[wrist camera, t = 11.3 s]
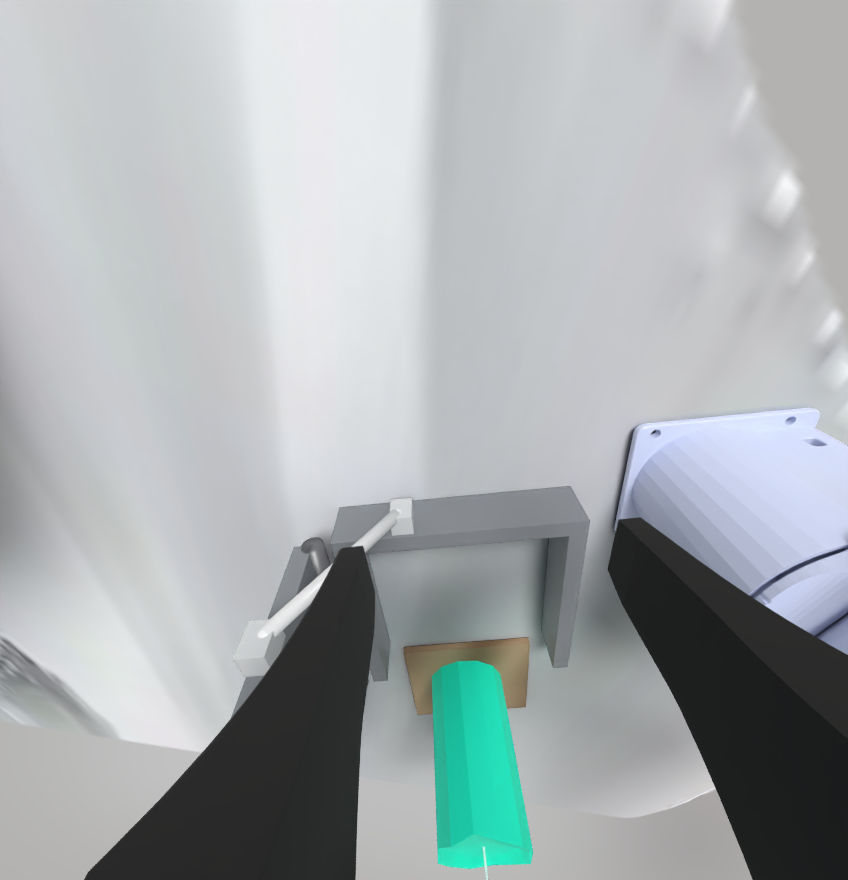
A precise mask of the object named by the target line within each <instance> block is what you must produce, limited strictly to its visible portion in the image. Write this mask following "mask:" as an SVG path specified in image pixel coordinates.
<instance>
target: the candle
mask: <svg viewBox="0 0 848 880" xmlns="http://www.w3.org/2000/svg"><path fill="white" fill-rule="evenodd" d="M432 700H433V730H434V759H435V789H436V819H437V846H438V847H437V849H438V864H442V865H445V866H449V867H457V868H468V869H471V868H478V867H484V866H485V875H486V880H488V872H487V866H490V865H513V864H514V865H515V864H531V859H532V855H533V850H532V844H531V838H530V833H529V827H528V822H527V817H526V811H525V805H524V800H523V795H522V789H521V784H520V778H519V773H518V767H517V762H516V756H515V751H514V745H513V740H512V735H511V729H510V724H509V718H508V713H507V707H506V702H505V696H504V691H503V685H502V680H501V675H500V673H499V672H498V671H497V670H496V669H495V668H494V667H493V666H492V665H489V664H486V663H482V662H479V661H457V662H454V663H451V664H448V665H445V666H443V667H441V668H440V669H439V670H438V671H437V672H436V673H435V674H434V675H433V676H432Z"/></svg>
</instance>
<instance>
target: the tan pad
mask: <svg viewBox="0 0 848 880" xmlns="http://www.w3.org/2000/svg"><path fill="white" fill-rule="evenodd" d="M529 647H530V643H529V639H528V638H516V639H503V640H490V641H477V642H464V643H452V644H439V645H426V646H413V647H404V656H405V661H406V665H407V669H408V674H409V678H410V683H411V687H412V691H413V696H414V700H415V705H416V709H417V713H418V715H422V714H433V700H432V676H433V675H434V674H435V673H436V672H437V671H438V670H439V669H440V668H441V667H443V666H445V665H448V664H451V663H454V662H457V661H479V662H482V663H486V664H489V665H492V666H493V667H494V668H495V669H496V670H497V671H498V672H499V673H500V675H501V680H502V685H503V691H504V696H505V702H506V707H507V708H520V707H526V695H527V679H528V663H529Z"/></svg>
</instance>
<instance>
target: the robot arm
mask: <svg viewBox="0 0 848 880" xmlns="http://www.w3.org/2000/svg"><path fill="white" fill-rule="evenodd" d="M819 417H820V413H819V411H817V410H815V409H813V408H799V409H789V410H778V411H768V412H758V413H748V414H738V415H727V416H717V417H707V418H697V419H687V420H677V421H666V422H656V423H646V424H641V425H639V426H638V427H637V428H636V429H635V430H634V433H633V438H632V442H631V447H630V452H629V457H628V462H627V467H626V472H625V477H624V482H623V487H622V492H621V497H620V502H619V507H618V512H617V517H616V522H615V527H614V530H615V532H616V533H615V538H614V542H613V547H612V552H611V557H610V561H609V566H608V571H609V574H610V576H611V579H612V581H613V584H614V586H615V589H616V591H617V593H618V596H619V598H620V600H621V602H622V605H623V607H624V608H625V610H626V612H627V614H628V616H629V618H630V619H631V621H632V623H633V625H634V626H635V628H636V630H637V632H638V634H639V635H640V637H641V639H642V641H643V642H644V644H645V646H646V648H647V649H648V651H649V653H650V655H651V656H652V658H653V660H654V662H655V664H656V665H657V667H658V669H659V671H660V672H661V674H662V676H663V678H664V679H665V681H666V683H667V685H668V686H669V688H670V690H671V692H672V694H673V696H674V698H675V700H676V702H677V704H678V705H679V707H680V710H681V712H682V714H683V716H684V718H685V720H686V723H687V725H688V727H689V729H690V731H691V733H692V736H693V738H694V740H695V742H696V744H697V746H698V749H699V751H700V753H701V755H702V758H703V760H704V762H705V765H706V767H707V769H708V772H709V774H710V776H711V778H712V781H713V783H714V785H715V788H716V790H717V792H718V794H719V797H720V799H721V802H722V804H723V806H724V809H725V811H726V814H727V816H728V819H729V821H730V823H731V826H732V829H733V831H734V833H735V836H736V838H737V841H738V843H739V846H740V848H741V851H742V853H743V855H744V858H745V861H746V863H747V866H748V868H749V871H750V874H751V876H752V879H753V880H848V445H846V444H844V443H842V442H840V441H838V440H837V439H835V438H833V437H831V436H829V435H827V434H825V433H823V432H822V431H820V430H818V429H816V428H815V426H816V424H817V422H818V419H819ZM787 419H788V420H787ZM654 430H656V432H655V433H654V434H651V433H652V432H653V431H654ZM374 628H375V589H374V585H373V581H372V578H371V574H370V570H369V566H368V562H367V558H366V555H365V551H364V547H363V546H355V547H345V548H341V549H340V551H339V552H338V554H337V556H336V558H335V560H334V562H333V564H332V566H331V568H330V570H329V572H328V574H327V576H326V578H325V580H324V581H323V583H322V585H321V587H320V589H319V591H318V592H317V594H316V596H315V598H314V599H313V601H312V603H311V604H310V606H309V608H308V610H307V611H306V613H305V615H304V616H303V618H302V620H301V621H300V623H299V625H298V626H297V628H296V629H295V631H294V632H293V634H292V635H291V637H290V638H289V640H288V642H287V643H286V645H285V646H284V648H283V649H282V651H281V652H280V654H279V655H278V657H277V658H276V660H275V661H274V663H273V664H272V665H271V667H270V668H269V670H268V671H267V672H266V674H265V675H264V677H263V678H262V679H261V681H260V682H259V683H258V685H257V686H256V687H255V689H254V690H253V691H252V693H251V694H250V695H249V697H248V698H247V699H246V700H245V702H244V703H243V704H242V705H241V707H240V708H239V709H238V710H237V712H236V713H235V714H234V715H233V717H232V718H231V719H230V720H229V722H228V723H227V724H226V725H225V727H224V728H223V729H222V730H221V731H220V733H219V734H218V735H217V736H216V737H215V739H214V740H213V741H212V742H211V743H210V744H209V746H208V747H207V748H206V749H205V750H204V751H203V752H202V753H201V755H200V756H199V757H198V758H197V759H196V760H195V761H194V762H193V763H192V765H191V766H190V767H189V768H188V769H187V770H186V771H185V772H184V774H183V775H182V776H181V777H180V778H179V779H178V780H177V781H176V783H174V785H173V786H172V787H171V788H170V789H169V790H168V791H167V792H166V793H165V795H164V796H163V797H162V798H161V799H160V800H159V801H158V802H157V803H156V804H155V805H154V806H153V807H152V808H151V809H150V810H149V811H148V812H147V813H146V814H145V815H144V816H143V817H142V818H141V819H140V820H139V821H138V822H137V823H136V824H135V825H134V826H133V827H132V828H131V829H130V830H129V831H128V833H126V834H125V836H124V837H123V838H122V839H121V840H120V841H119V842H118V843H117V844H116V845H115V846H114V847H113V848H112V849H111V850H110V851H109V852H108V853H107V854H106V855H105V856H104V857H103V858H102V859H101V860H100V861H99V862H98V863H97V864H96V865H95V866H94V867H93V868H92V869H91V870H90V871H89V872H88V874H87V875H86V877H85V879H84V880H355V874H356V838H357V812H358V811H357V810H358V787H359V766H360V747H361V732H362V721H363V712H364V705H365V697H366V690H367V683H368V675H369V668H370V660H371V652H372V645H373V637H374Z"/></svg>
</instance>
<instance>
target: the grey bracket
mask: <svg viewBox="0 0 848 880" xmlns="http://www.w3.org/2000/svg"><path fill="white" fill-rule="evenodd" d="M589 524H590V520H589V518H588V516H587V515H586V513H585V511H584V509H583V508H582V506H581V504H580V502H579V501H578V499H577V497H576V495H575V493H574V492H573V490H572V488H571V486H567V487H556V488H545V489H534V490H524V491H513V492H502V493H491V494H480V495H470V496H459V497H448V498H437V499H426V500H416V501H412V498H405V499H394V500H391V502H390V503H383V504H372V505H362V506H351V507H340V508H339V512H338V516H337V520H336V523H335V527H334V531H333V535H332V539H331V542H330V545H331V548H332V551H333V555H334V558H336V556H337V554H338V552H339V551H340V549H341V548H345V547H355V546H363V547H364V551H365V555H366V558H367V562H368V566H369V570H370V574H371V578H372V581H373V585H374V589H375V628H374V637H373V645H372V652H371V660H370V671H371V674H372V677H373V680H374V681H387V680H388V664H389V648H390V639H389V635H388V631H387V627H386V623H385V620H384V616H383V612H382V608H381V604H380V600H379V596H378V592H377V588H376V584H375V580H374V576H373V572H372V568H371V564H370V560H369V556H368V554H372V553H383V552H394V551H406V550H417V549H429V548H440V547H451V546H463V545H474V544H485V543H497V542H508V541H520V540H531V539H542V538H549V546H548V557H547V569H546V581H545V592H544V604H543V615H542V627H541V630H542V633H543V636H544V639H545V643H546V646H547V649H548V653H549V656H550V659H551V663H552V666H553V668H560V667H567V665H568V659H569V652H570V646H571V639H572V633H573V626H574V620H575V614H576V607H577V601H578V594H579V588H580V582H581V575H582V569H583V562H584V556H585V550H586V543H587V537H588V530H589ZM332 564H333V563H332ZM332 564H330V561H329V558H328V555H327V552H326V549H325V546H324V543H323V540H322V539H320V538H317V537H315V538H310V539H308V540H306V541H305V542H304V543H303V544H302V546H301V547H294V549H293V551H292V554H291V557H290V560H289V562H288V565H287V568H286V570H285V573H284V576H283V579H282V581H281V584H280V587H279V589H278V592H277V595H276V598H275V600H274V603H273V606H272V608H271V611H270V614H269V617H268V619H266V620H254V621H249V622H248V624H247V627H246V629H245V632H244V634H243V637H242V639H241V641H240V644H239V646H238V649H237V651H236V653H235V656H234V658H233V661H234V662H235V664H236V666H237V667H238V669H239V670H240V672H241V673H242V675H243V677H246V679H245V682H244V684H243V687H242V690H241V693H240V695H239V698H238V701H237V703H236V706H235V709H234V712H233V714H232V717H233V715H234V714H235V713H236V712H237V710H238V709H239V708H240V707H241V705H242V704H243V703H244V702H245V700H246V699H247V698H248V697H249V695H250V694H251V693H252V691H253V690H254V689H255V687H256V686H257V685H258V683H259V682H260V681H261V679H262V678H263V677H264V675H265V674H266V672H267V671H268V670H269V668H270V667H271V665H272V664H273V663H274V661H275V660H276V658H277V657H278V655H279V654H280V652H281V651H282V649H283V648H284V646H285V645H286V643H287V642H288V640H289V638H290V637H291V635H292V634H293V632H294V631H295V629H296V628H297V626H298V625H299V623H300V621H301V620H302V618H303V616H304V615H305V613H306V611H307V610H308V608H309V606H310V604H311V603H312V601H313V599H314V598H315V596H316V594H317V592H318V591H319V589H320V587H321V585H322V583H323V581H324V580H325V578H326V576H327V574H328V572H329V570H330V568H331V566H332ZM368 682H369V680H368ZM367 685H368V683H367ZM232 717H231V718H232Z"/></svg>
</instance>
